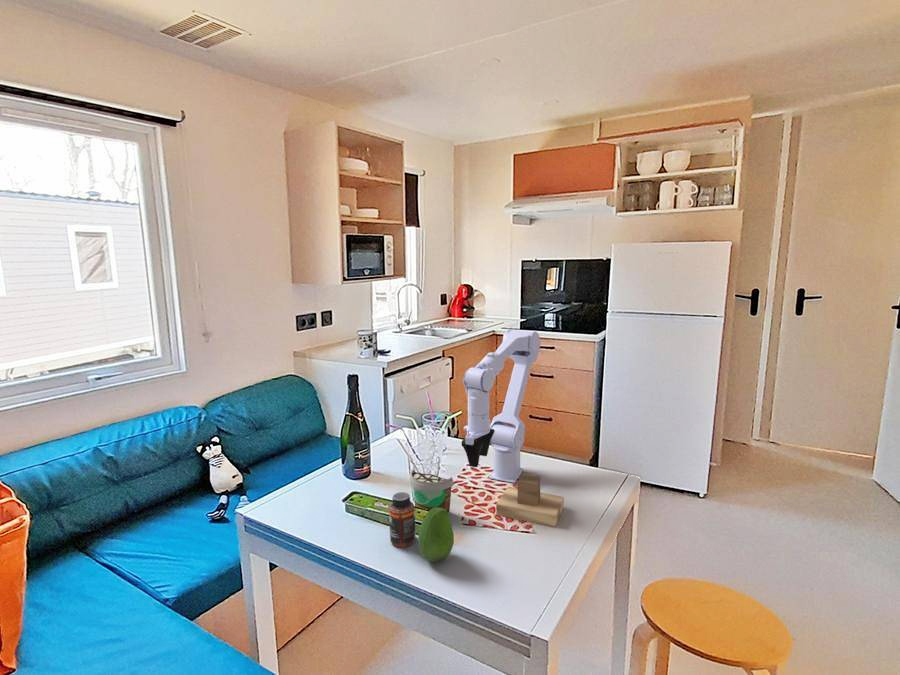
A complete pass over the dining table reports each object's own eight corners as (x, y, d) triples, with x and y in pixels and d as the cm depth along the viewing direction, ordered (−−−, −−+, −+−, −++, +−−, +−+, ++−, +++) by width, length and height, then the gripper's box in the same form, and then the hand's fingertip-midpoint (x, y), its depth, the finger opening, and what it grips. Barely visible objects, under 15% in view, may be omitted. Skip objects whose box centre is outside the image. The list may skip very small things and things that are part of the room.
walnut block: (521, 494, 130) (521, 472, 129) (540, 497, 128) (540, 475, 127) (517, 503, 125) (517, 481, 124) (537, 506, 124) (537, 484, 123)
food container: (401, 513, 127) (399, 477, 125) (413, 502, 132) (412, 467, 131) (443, 525, 121) (442, 487, 120) (454, 513, 127) (453, 477, 125)
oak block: (508, 496, 135) (508, 486, 134) (563, 507, 129) (563, 496, 128) (496, 514, 126) (496, 504, 125) (555, 527, 120) (555, 515, 119)
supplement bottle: (420, 537, 117) (419, 492, 115) (407, 551, 111) (405, 504, 109) (398, 531, 119) (397, 487, 117) (385, 544, 114) (383, 499, 112)
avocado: (461, 561, 107) (460, 510, 105) (430, 574, 103) (428, 522, 101) (441, 543, 114) (440, 495, 112) (411, 555, 110) (410, 505, 108)
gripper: (473, 403, 139) (473, 448, 141) (454, 419, 126) (454, 469, 128) (497, 405, 136) (497, 452, 139) (480, 422, 123) (480, 473, 126)
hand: (478, 460), depth 133 cm, fingers open, 7 cm apart
